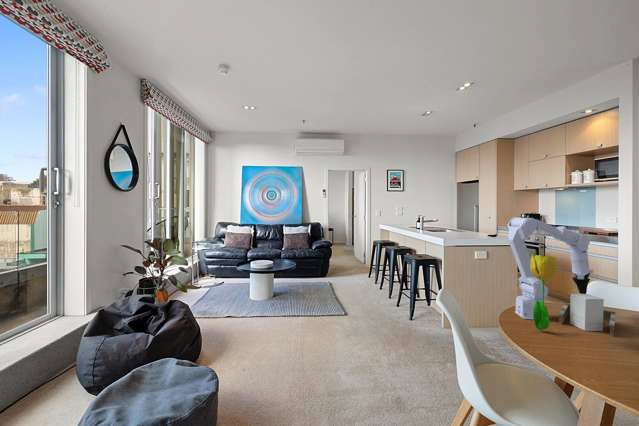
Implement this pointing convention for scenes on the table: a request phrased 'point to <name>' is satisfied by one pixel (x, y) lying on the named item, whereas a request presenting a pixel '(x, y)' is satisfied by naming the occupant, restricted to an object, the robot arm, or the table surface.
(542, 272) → the flower
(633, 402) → the table surface
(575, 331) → the table surface
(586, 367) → the table surface
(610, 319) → the cold frame
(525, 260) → the robot arm
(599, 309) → the supplement box
